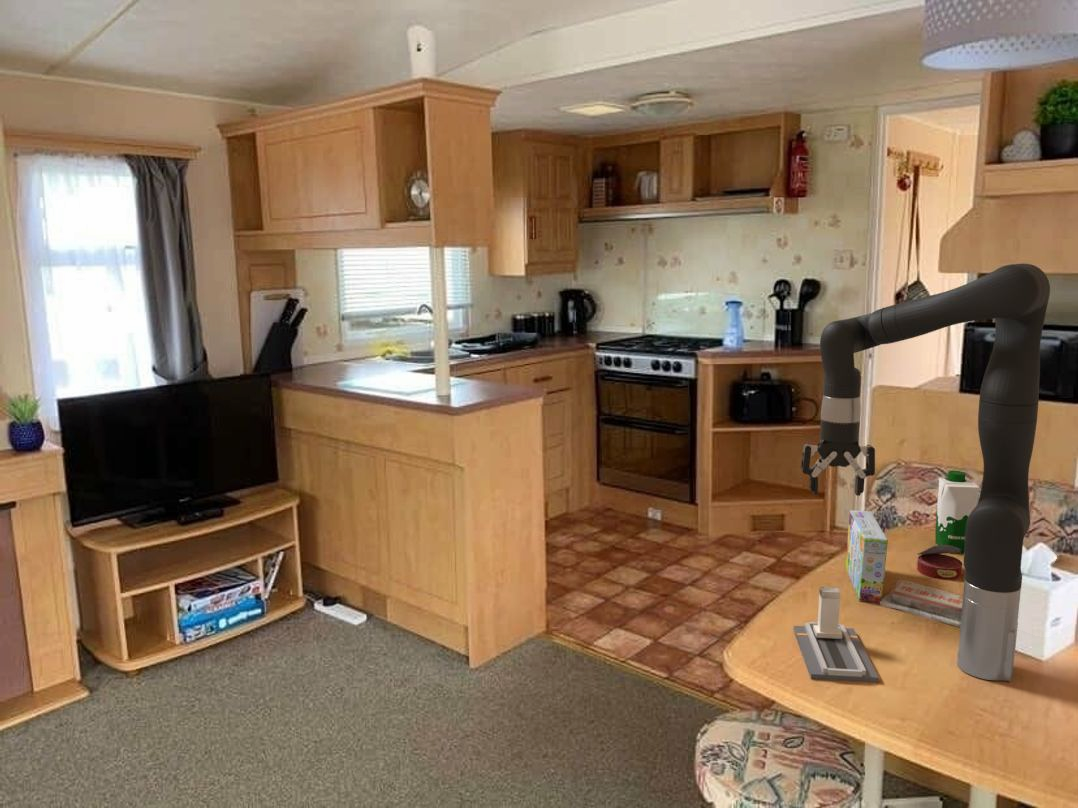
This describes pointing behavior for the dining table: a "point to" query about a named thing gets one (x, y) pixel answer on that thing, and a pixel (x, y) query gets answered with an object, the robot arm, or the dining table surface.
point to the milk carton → (954, 509)
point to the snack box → (866, 555)
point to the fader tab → (828, 614)
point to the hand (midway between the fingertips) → (836, 494)
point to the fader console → (835, 655)
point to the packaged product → (925, 602)
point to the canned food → (939, 563)
